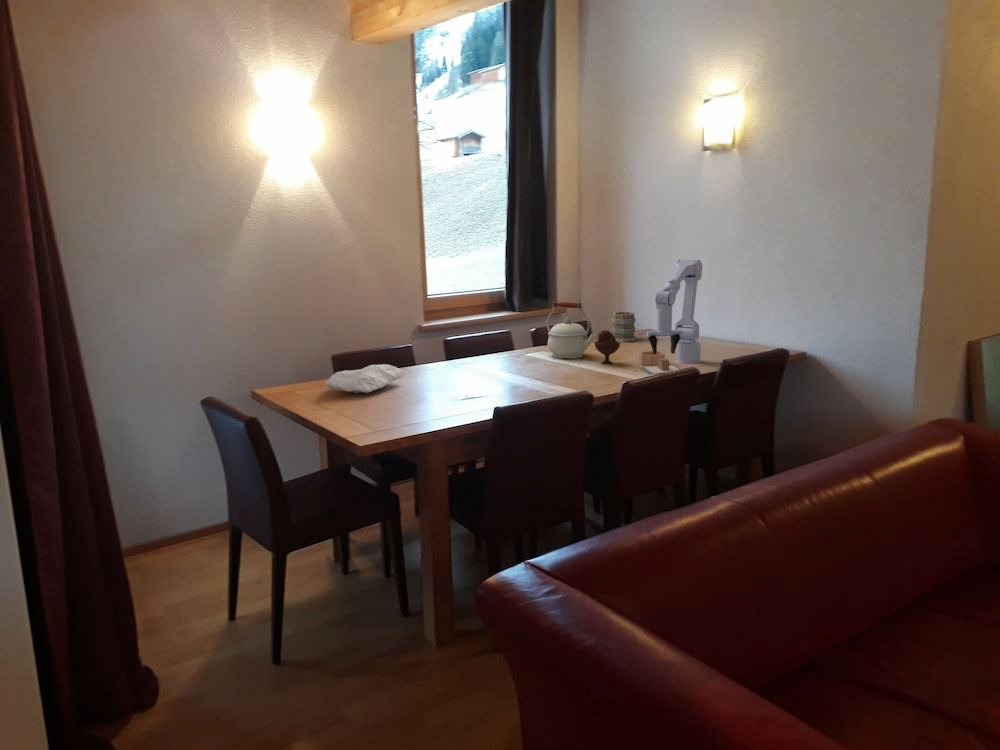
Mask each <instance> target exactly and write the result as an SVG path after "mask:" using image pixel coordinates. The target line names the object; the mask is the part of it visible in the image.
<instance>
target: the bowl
mask: <svg viewBox="0 0 1000 750" xmlns="http://www.w3.org/2000/svg"><path fill="white" fill-rule="evenodd" d="M665 356H666V355H665V353H664V352H663V351H659V350H657V353H656V354H653V350H648V351H647V350H646V351H645V350H644V351H641V352H638V363H639V365H640V366H644V367H651V366H658V358H666V357H665Z"/></svg>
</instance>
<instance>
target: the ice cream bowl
mask: <svg viewBox="0 0 1000 750" xmlns="http://www.w3.org/2000/svg"><path fill="white" fill-rule="evenodd" d="M594 346H595V349H596V350H597V351H598V352H599V353H601V354H602V355H604V360H602V361H601V362H600V365H601V364H602V365H612V364H614V362H612V361H611V360H610V355H613V354H614V353H615V352H617V351H618V350H619V349H620V346H621V342H618V341H616V338H615V336H614V335H612V332H611V330H610V331H609V329H607V330H606V329H603V330H601V331H600V332H599V333H598V334H597V341H595V342H594Z"/></svg>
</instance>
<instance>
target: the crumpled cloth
mask: <svg viewBox="0 0 1000 750" xmlns="http://www.w3.org/2000/svg"><path fill="white" fill-rule="evenodd" d="M403 373H404V371H403V369H400V368H398V367H397V366H393V365H391V364H385V363H383V364H371V365H370V364H369V365H367V366H365V367H363V368H361V369H354V370H353V369H351V370H342V371H337V372H334V374H332V375H331V376H330V377H328V380H326V381H325V382H324V385H325V386H326V387H327V388H328V389H330V390H333V391H342V392H346V393H347V392H348V393H351V392H352V393H354V394H359V393H366V394H368V393H371V392H373V391H376V390H378V389H381V388H384V387H386V386H387V385H389V384H390V383H392V382H394V381H396V380H398V379H399V378H401V376H403Z"/></svg>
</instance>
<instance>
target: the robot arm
mask: <svg viewBox="0 0 1000 750" xmlns="http://www.w3.org/2000/svg"><path fill="white" fill-rule="evenodd" d="M702 275H703V264H702V261H701V260H700V259H680V258H679V259H678V260H677V261H676V263H675V272H674V274H673V277H672V278H670V279H668V280H667V281H666V283H665V285H664V286H663V288H662V289H661V290H659V291H658V292H657V293H656V294H655V300H654V301H655V304H656V307H655V308H656V309H657V326H656V329H657V330H652V331H651V330H650V331H646V334H645V335H646V337H647V339H648V341H649V343H650V345H651V349H652V350H651V351H653V354H656V353H657V351H658V350H657V349H658V347H657V346H658V337H670V354H675V352H676V359H674V358H673V361H675V362H677V363H679V364H692V363H693V364H694V363H701V347H702V346H701V343H700V342H699V341H698V340H699V338H700V324H699V323H698V322H697V321H696V320H695V319H694V315H695V309H696V308H695V307H696V297H697V289H698V288H697V287H698V281H701V279H702ZM682 281H684V283H685V284H684V293H683V294H684V295H683V302H682V310H681V311H682V313H681V319H679V320H678V321H676V322H675V326H674V328H673V329H672V327H673V326H672V323H673V305H675V302H676V297H677V293H678V292H679V291H680V289H681V282H682ZM676 348H677V349H676Z"/></svg>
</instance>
